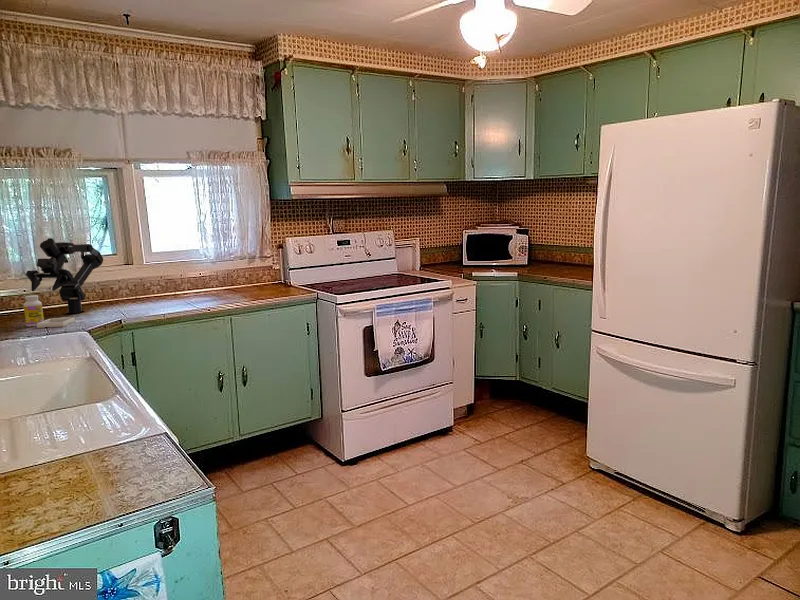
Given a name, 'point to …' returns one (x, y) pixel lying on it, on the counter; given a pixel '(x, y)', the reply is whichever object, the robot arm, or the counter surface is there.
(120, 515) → the counter surface
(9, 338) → the counter surface
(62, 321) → the pocket tray
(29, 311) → the supplement bottle
